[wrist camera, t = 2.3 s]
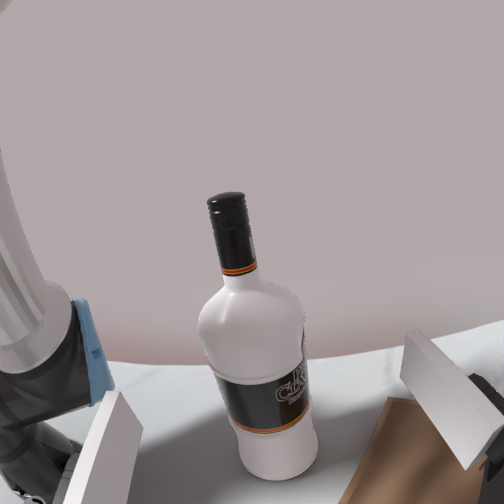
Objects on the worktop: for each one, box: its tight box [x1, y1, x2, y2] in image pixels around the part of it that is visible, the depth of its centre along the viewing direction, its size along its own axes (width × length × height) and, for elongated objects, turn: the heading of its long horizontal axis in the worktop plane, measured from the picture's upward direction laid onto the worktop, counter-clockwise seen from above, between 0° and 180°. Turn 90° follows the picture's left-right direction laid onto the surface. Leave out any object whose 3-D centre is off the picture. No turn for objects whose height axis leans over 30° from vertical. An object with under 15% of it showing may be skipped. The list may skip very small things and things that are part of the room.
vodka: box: [198, 192, 318, 481], centre depth 23 cm, size 9×9×30 cm
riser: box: [338, 397, 487, 504], centre depth 18 cm, size 16×16×4 cm
